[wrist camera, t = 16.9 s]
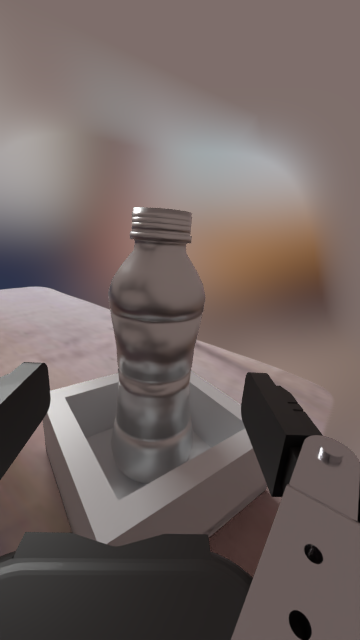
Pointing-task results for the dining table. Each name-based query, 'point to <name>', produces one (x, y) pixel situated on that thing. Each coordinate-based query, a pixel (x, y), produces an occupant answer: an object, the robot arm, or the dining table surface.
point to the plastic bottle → (155, 345)
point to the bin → (166, 491)
